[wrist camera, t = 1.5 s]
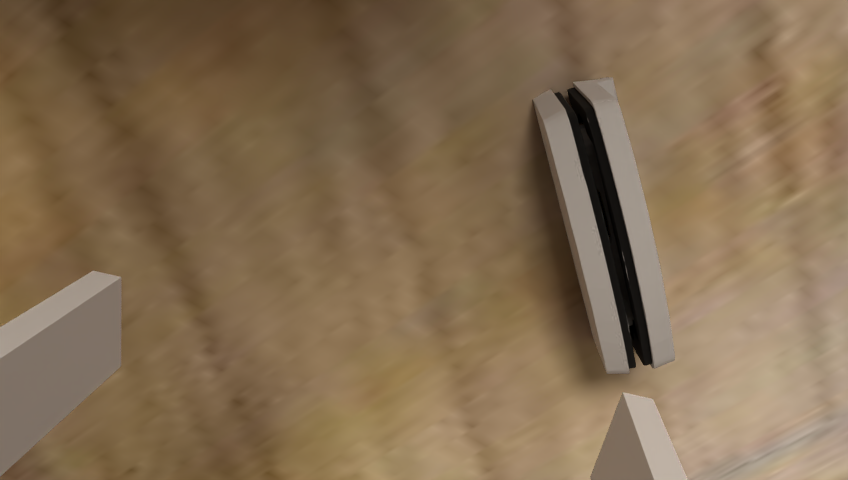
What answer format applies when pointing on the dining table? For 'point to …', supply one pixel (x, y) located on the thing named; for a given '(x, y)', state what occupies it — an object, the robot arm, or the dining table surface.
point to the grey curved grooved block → (627, 219)
